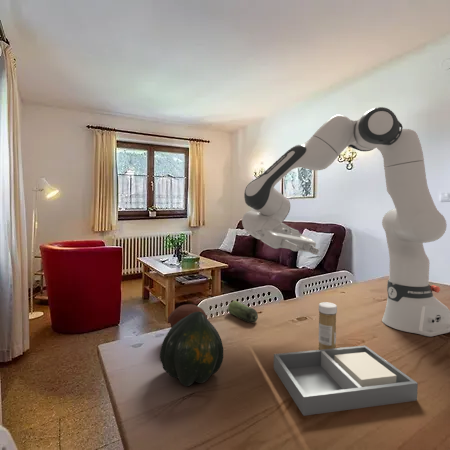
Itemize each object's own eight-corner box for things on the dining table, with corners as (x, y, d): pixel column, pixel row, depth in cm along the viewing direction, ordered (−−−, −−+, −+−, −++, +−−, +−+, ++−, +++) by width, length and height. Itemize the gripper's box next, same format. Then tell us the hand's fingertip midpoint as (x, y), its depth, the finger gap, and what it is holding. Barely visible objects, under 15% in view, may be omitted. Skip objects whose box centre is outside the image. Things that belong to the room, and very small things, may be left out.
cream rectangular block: (364, 366, 71) (365, 352, 71) (395, 392, 61) (396, 375, 61) (334, 369, 69) (334, 355, 69) (360, 396, 60) (361, 379, 59)
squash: (149, 375, 59) (197, 314, 62) (147, 344, 74) (186, 296, 76) (202, 411, 62) (246, 352, 65) (190, 375, 77) (226, 328, 79)
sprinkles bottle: (339, 354, 78) (340, 305, 77) (328, 359, 76) (329, 308, 75) (325, 348, 82) (326, 300, 81) (314, 352, 79) (315, 303, 79)
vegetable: (225, 314, 108) (225, 300, 108) (236, 311, 111) (236, 298, 111) (250, 327, 97) (250, 312, 96) (262, 323, 100) (262, 308, 99)
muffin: (189, 328, 95) (189, 297, 95) (215, 338, 88) (215, 305, 88) (159, 341, 86) (159, 307, 85) (186, 353, 79) (185, 316, 78)
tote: (364, 362, 74) (365, 345, 74) (416, 405, 58) (417, 383, 58) (273, 372, 70) (273, 354, 70) (303, 420, 54) (303, 397, 54)
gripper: (256, 220, 92) (287, 235, 81) (299, 230, 104) (331, 244, 93) (249, 239, 93) (279, 257, 82) (293, 246, 105) (323, 263, 94)
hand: (307, 250), depth 87 cm, fingers open, 8 cm apart
